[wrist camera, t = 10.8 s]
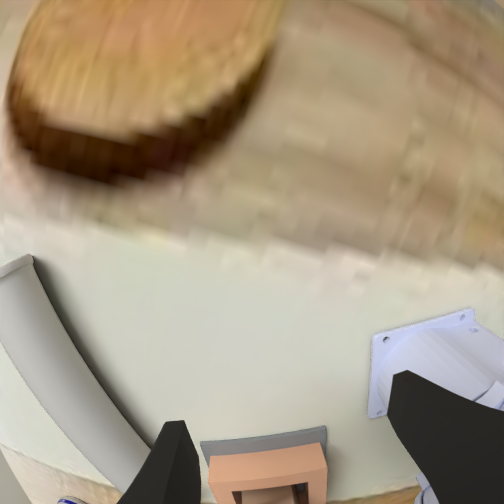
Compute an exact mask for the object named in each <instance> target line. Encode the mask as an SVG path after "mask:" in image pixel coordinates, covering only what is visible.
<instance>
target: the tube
mask: <svg viewBox="0 0 504 504" xmlns="http://www.w3.org/2000/svg"><path fill="white" fill-rule="evenodd" d="M33 263H34V260H33V258H32V255H30V254H27V255H25V256H22V257H20V258H18V259H15V260H13V261H11V262H9V263H7V264H6V265H4V266H2V267H0V342H1V344H2V346H3V347H4V349H5V351H6V353H7V354H8V356H9V358H10V359H11V361H12V363H13V364H14V366H15V367H16V369H17V370H18V372H19V374H20V375H21V377H22V378H23V380H24V381H25V383H26V384H27V386H28V387H29V388H30V390H31V391H32V393H33V394H34V396H35V397H36V398H37V400H38V401H39V402H40V404H41V405H42V406H43V408H44V409H45V410H46V412H47V413H48V414H49V416H50V417H51V418H52V419H53V421H54V422H55V423H56V424H57V426H58V427H59V428H60V429H61V430H62V432H63V433H64V434H65V435H66V436H67V438H68V439H69V440H70V441H71V442H72V443H73V444H74V445H75V447H76V448H77V449H78V450H79V451H80V452H81V453H82V454H83V455H84V456H85V457H86V458H87V460H88V461H89V462H90V463H91V464H92V465H93V466H94V467H95V468H96V469H97V470H98V471H99V472H100V473H101V474H102V475H103V476H104V477H105V478H106V479H107V480H109V481H110V482H111V483H112V484H113V485H114V486H115V487H116V488H117V489H118V490H119V491H121V492H122V493H123V494H124V493H125V492H126V490H127V489H128V487H129V486H130V484H131V483H132V481H133V480H134V478H135V477H136V475H137V474H138V472H139V471H140V469H141V467H142V465H143V464H144V462H145V460H146V458H147V457H148V455H149V453H150V451H151V449H150V448H149V447H148V446H147V445H146V444H145V442H144V441H143V440H142V439H141V438H140V437H139V435H138V434H137V433H136V432H135V430H134V429H133V428H132V427H131V426H130V424H129V423H128V422H127V421H126V419H125V418H124V417H123V415H122V414H121V413H120V412H119V410H118V409H117V408H116V406H115V405H114V404H113V402H112V401H111V399H110V398H109V397H108V395H107V394H106V393H105V391H104V390H103V388H102V387H101V385H100V384H99V383H98V381H97V380H96V378H95V377H94V375H93V374H92V372H91V371H90V369H89V368H88V366H87V365H86V363H85V361H84V360H83V358H82V357H81V355H80V354H79V352H78V350H77V349H76V347H75V345H74V344H73V342H72V340H71V339H70V337H69V335H68V333H67V332H66V330H65V328H64V326H63V325H62V323H61V321H60V319H59V317H58V316H57V314H56V312H55V310H54V308H53V306H52V304H51V302H50V300H49V298H48V296H47V294H46V292H45V290H44V288H43V286H42V284H41V282H40V280H39V278H38V276H37V274H36V271H35V269H34V266H33Z"/></svg>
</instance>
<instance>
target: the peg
mask: <svg viewBox="0 0 504 504" xmlns="http://www.w3.org/2000/svg"><path fill="white" fill-rule="evenodd" d="M242 504H300V502H299V497H298V491H297V486H296V484H293V485H286V486H279V487H272V488H264V489H254V490H243V491H242Z"/></svg>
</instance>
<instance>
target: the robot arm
mask: <svg viewBox="0 0 504 504" xmlns="http://www.w3.org/2000/svg"><path fill="white" fill-rule="evenodd" d="M461 316H462V317H461ZM460 317H461V318H460ZM385 337H387V339H386V340H384V341H383V339H384V338H385ZM378 411H380V412H378ZM367 415H368V417H369V418H370V419H373V418H377V417H380V416H384V415H387V416H388V418H389V420H390V422H391V424H392V427H393V429H394V431H395V432H396V434H397V436H398V438H399V439H400V441H401V442H402V444H403V445H404V447H405V448H406V450H407V451H408V452H409V454H410V455H411V457H412V458H413V460H414V461H415V463H416V464H417V465H418V467H419V468H420V470H421V472H420V474H419V475H418V476H417V477H416V479H417V481H418V483H419V485H420V486H421V488H422V491H420V492H419V494H418V495H417V496H416V498H415V501H414V504H504V340H503V339H502V338H500V337H499V336H497V335H496V334H494V333H493V332H491V331H490V330H488V329H487V328H486V327H484V326H483V325H481V324H480V323H478V322H477V321H475V309H473V308H467V309H464V310H461V311H457V312H454V313H451V314H448V315H444V316H441V317H437V318H434V319H430V320H427V321H423V322H420V323H416V324H412V325H408V326H405V327H401V328H397V329H393V330H389V331H385V332H380V333H377V334H375V335H374V336H373V338H372V342H371V367H370V383H369V397H368V409H367ZM200 501H201V476H200V465H199V456H198V454H197V451H196V449H195V447H194V444H193V442H192V439H191V437H190V434H189V432H188V429H187V427H186V424H185V422H184V420H180V421H168V422H165V424H164V425H163V427H162V429H161V431H160V434H159V436H158V438H157V440H156V442H155V444H154V446H153V447H152V449H151V451H150V453H149V455H148V457H147V458H146V460H145V462H144V464H143V465H142V467H141V469H140V471H139V472H138V474H137V475H136V477H135V478H134V480H133V481H132V483H131V484H130V486H129V487H128V489H127V490H126V492H125V493H124V495H123V496H122V497H121V499H120V500H119V501H118V502H117V504H200Z"/></svg>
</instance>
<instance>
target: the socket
mask: <svg viewBox="0 0 504 504" xmlns="http://www.w3.org/2000/svg"><path fill="white" fill-rule="evenodd" d="M200 446H201V449H202V452H203V454H204V457H205V460H206V462H207V465H208V467H209V477H208V483H209V486H210V488H211V490H212V493H213V495H214V497H215V499H216V501H217V504H242V491H243V490H254V489H264V488H272V487H279V486H286V485H293V484H296V486H297V491H298V497H299V502H300V504H326V493H327V464H326V461H325V455H326V428H325V426H321V427H316V428H311V429H306V430H300V431H295V432H289V433H282V434H276V435H269V436H261V437H253V438H244V439H233V440H221V441H206V442H200Z"/></svg>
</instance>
